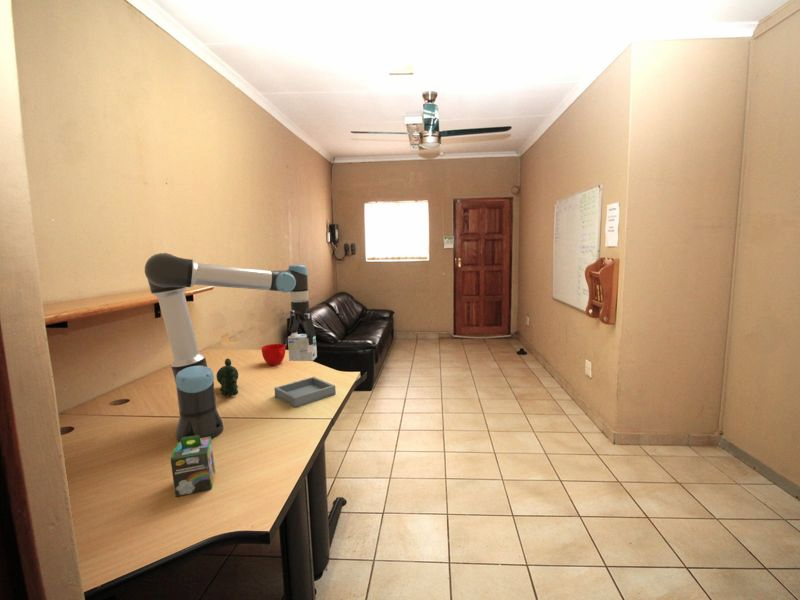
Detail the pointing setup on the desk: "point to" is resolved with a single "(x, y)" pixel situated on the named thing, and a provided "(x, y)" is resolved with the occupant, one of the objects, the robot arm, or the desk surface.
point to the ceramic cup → (273, 353)
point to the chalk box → (193, 465)
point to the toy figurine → (228, 379)
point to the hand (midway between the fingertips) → (302, 349)
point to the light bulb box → (300, 348)
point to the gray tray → (304, 391)
